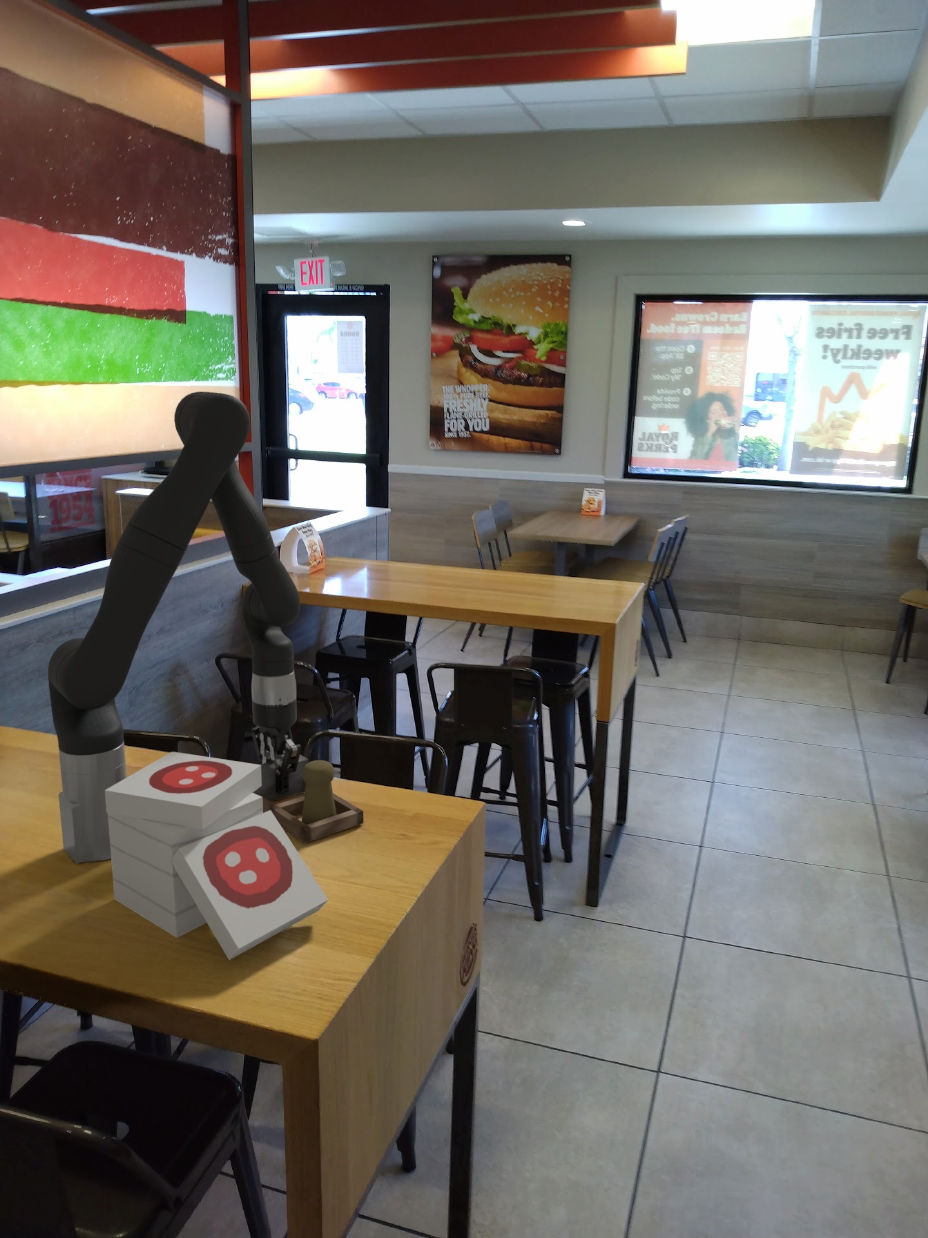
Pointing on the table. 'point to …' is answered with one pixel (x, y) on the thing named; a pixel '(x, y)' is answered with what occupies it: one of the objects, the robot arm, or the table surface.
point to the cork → (318, 791)
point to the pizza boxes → (206, 852)
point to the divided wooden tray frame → (288, 809)
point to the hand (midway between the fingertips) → (277, 789)
